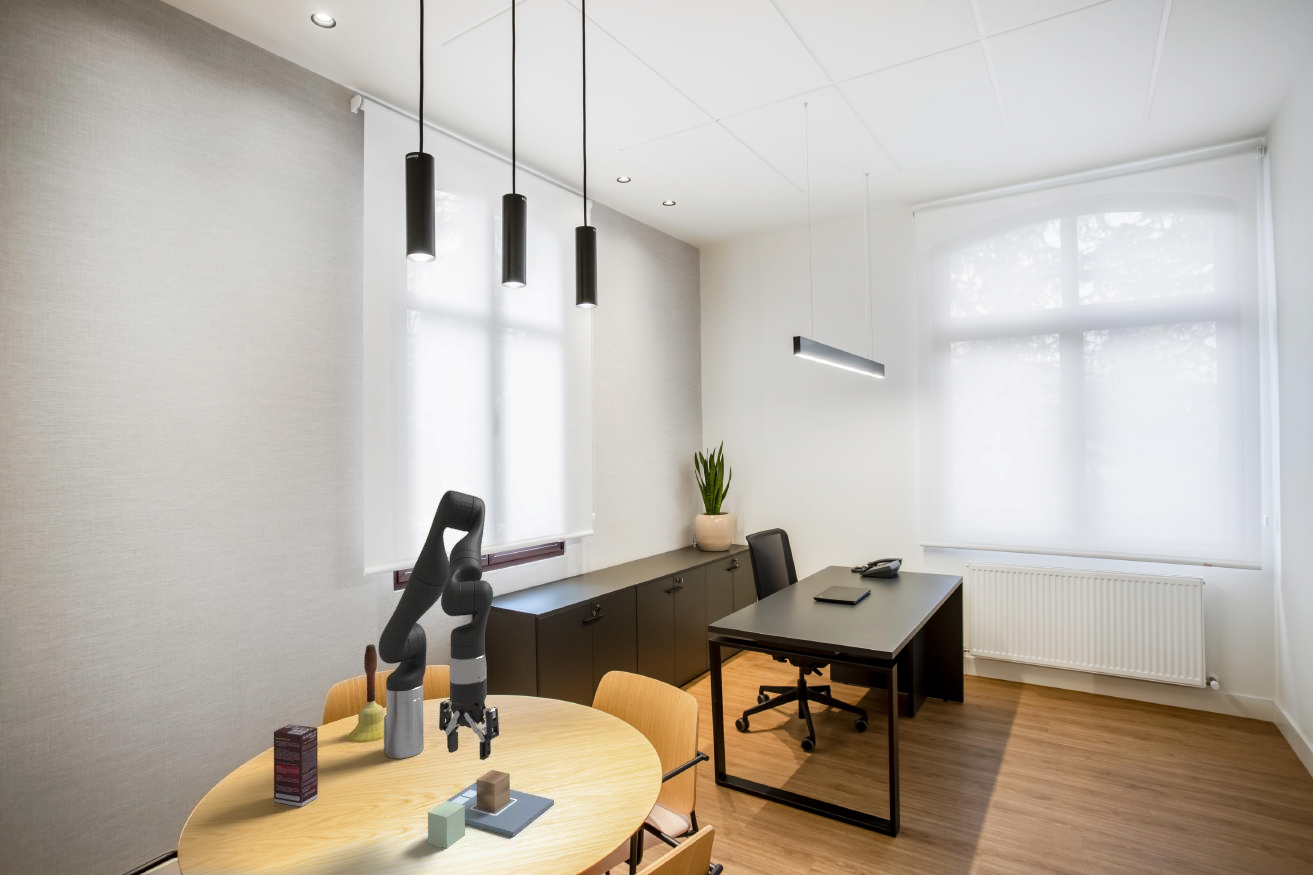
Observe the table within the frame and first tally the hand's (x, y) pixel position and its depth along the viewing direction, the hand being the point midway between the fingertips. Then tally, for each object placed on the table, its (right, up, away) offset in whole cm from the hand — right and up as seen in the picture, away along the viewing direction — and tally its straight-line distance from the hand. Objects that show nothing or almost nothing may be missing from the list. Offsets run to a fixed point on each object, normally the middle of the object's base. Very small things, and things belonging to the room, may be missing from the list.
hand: (468, 754), depth 138 cm
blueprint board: (+4, -15, +5) cm, 16 cm away
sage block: (-3, -14, -6) cm, 16 cm away
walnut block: (+4, -14, +5) cm, 15 cm away
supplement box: (-43, -16, +12) cm, 48 cm away
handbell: (-42, -18, +50) cm, 68 cm away
